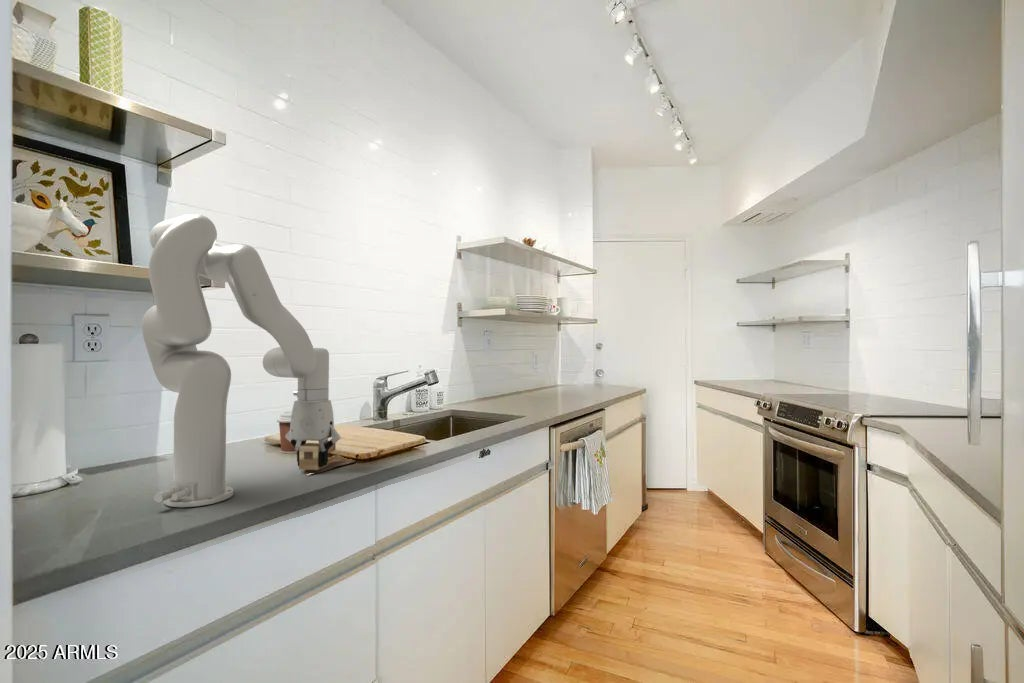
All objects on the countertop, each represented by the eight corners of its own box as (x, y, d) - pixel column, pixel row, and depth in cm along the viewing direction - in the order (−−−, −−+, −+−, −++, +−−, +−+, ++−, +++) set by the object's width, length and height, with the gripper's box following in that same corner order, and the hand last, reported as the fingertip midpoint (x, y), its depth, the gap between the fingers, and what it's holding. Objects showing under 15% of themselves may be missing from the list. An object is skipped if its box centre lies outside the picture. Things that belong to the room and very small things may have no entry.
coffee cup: (269, 452, 153) (270, 413, 154) (294, 447, 162) (295, 409, 162) (290, 456, 149) (290, 415, 149) (315, 450, 157) (315, 411, 157)
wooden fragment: (340, 454, 154) (340, 450, 154) (373, 456, 151) (373, 453, 151) (283, 476, 128) (283, 471, 128) (322, 479, 126) (322, 474, 126)
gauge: (317, 470, 128) (317, 446, 129) (299, 469, 129) (299, 445, 129) (339, 459, 140) (340, 437, 140) (322, 458, 141) (323, 437, 141)
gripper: (274, 396, 128) (273, 467, 128) (337, 397, 126) (336, 470, 126) (290, 393, 136) (290, 460, 136) (350, 394, 133) (350, 463, 133)
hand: (312, 464), depth 131 cm, fingers closed on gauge, 5 cm apart
